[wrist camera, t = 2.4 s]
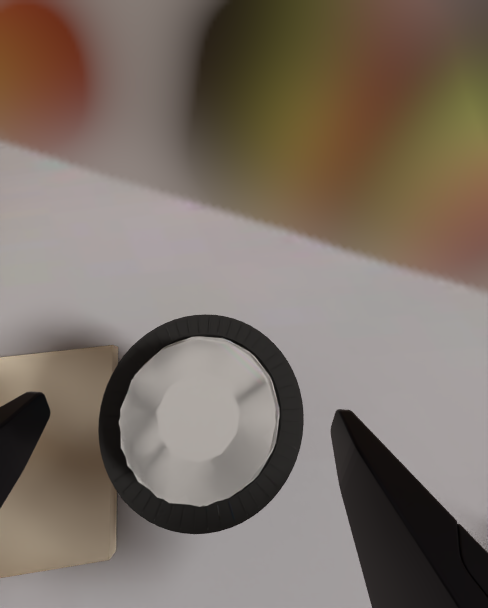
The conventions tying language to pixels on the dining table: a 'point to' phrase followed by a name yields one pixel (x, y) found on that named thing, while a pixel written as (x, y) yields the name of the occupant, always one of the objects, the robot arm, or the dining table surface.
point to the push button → (200, 424)
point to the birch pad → (60, 465)
